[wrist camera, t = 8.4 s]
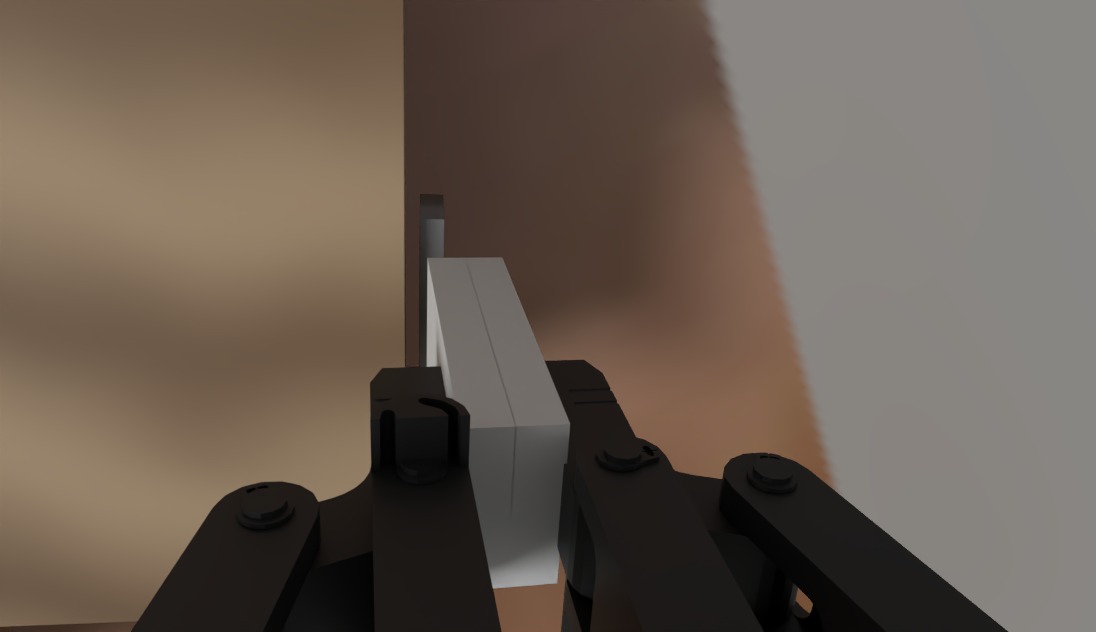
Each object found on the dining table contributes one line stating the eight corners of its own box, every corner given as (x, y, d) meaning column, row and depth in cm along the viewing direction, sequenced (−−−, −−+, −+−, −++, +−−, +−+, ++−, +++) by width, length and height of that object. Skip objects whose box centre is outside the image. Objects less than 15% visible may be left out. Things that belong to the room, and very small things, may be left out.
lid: (-270, -157, 16) (-381, -168, 14) (446, -107, 18) (449, -110, 15) (-75, 561, 22) (-129, 631, 20) (438, 546, 24) (438, 609, 22)
